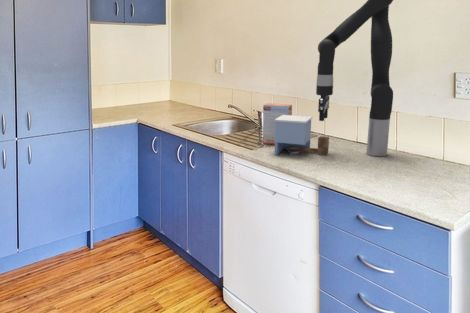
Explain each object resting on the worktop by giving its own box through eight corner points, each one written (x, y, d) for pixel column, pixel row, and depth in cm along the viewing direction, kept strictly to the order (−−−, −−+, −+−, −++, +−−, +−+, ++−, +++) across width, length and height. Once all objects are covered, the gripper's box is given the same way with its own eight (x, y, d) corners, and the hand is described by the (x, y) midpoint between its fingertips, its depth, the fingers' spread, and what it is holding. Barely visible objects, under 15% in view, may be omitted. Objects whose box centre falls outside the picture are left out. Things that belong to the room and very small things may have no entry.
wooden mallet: (328, 153, 207) (329, 136, 205) (326, 155, 203) (327, 138, 201) (289, 149, 213) (289, 133, 211) (286, 151, 209) (287, 135, 207)
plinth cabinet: (310, 150, 212) (312, 116, 208) (304, 157, 198) (306, 121, 194) (281, 148, 217) (282, 114, 213) (273, 154, 204) (274, 119, 199)
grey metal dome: (300, 153, 208) (300, 149, 208) (298, 155, 203) (298, 152, 203) (290, 152, 210) (290, 149, 209) (287, 154, 205) (287, 151, 205)
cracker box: (291, 144, 224) (292, 104, 219) (286, 146, 219) (288, 105, 214) (267, 141, 231) (268, 102, 226) (262, 143, 226) (263, 104, 221)
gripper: (330, 86, 190) (328, 122, 194) (335, 83, 203) (333, 117, 207) (313, 85, 193) (312, 121, 197) (319, 83, 206) (318, 116, 210)
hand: (323, 119), depth 202 cm, fingers open, 8 cm apart
